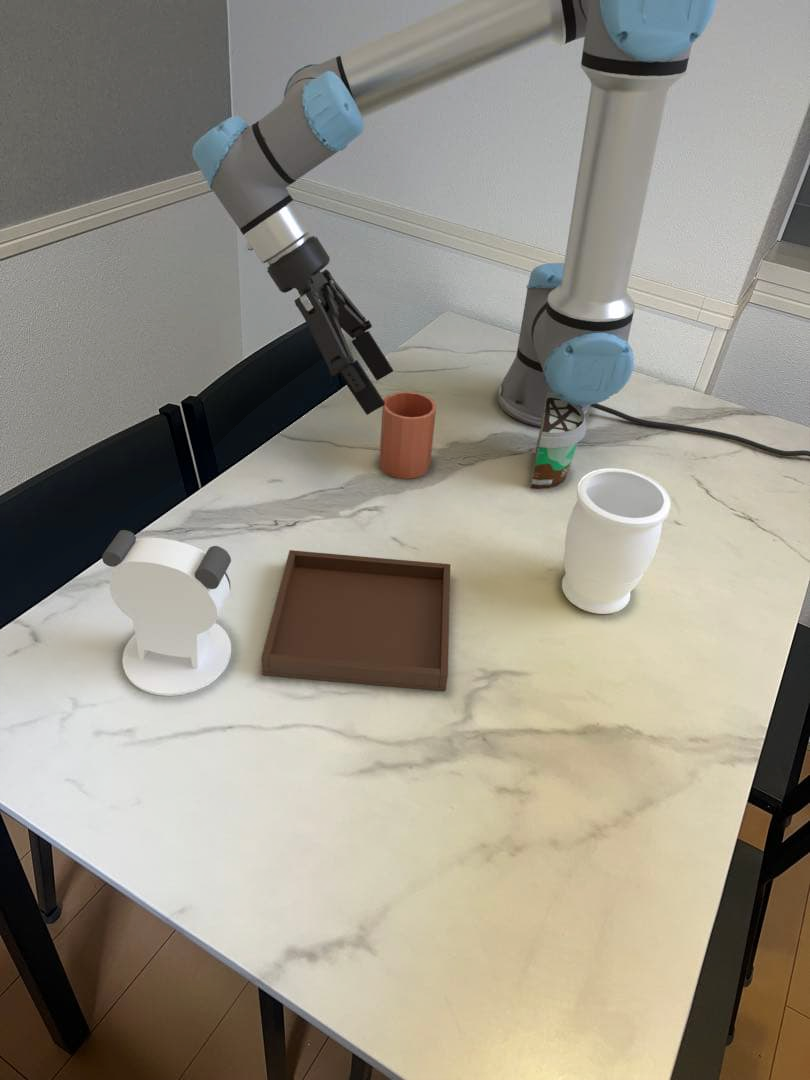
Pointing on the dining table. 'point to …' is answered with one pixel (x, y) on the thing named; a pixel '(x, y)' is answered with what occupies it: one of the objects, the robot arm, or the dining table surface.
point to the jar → (612, 537)
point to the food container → (557, 441)
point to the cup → (407, 434)
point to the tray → (361, 621)
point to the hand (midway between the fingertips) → (380, 391)
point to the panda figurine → (170, 611)
